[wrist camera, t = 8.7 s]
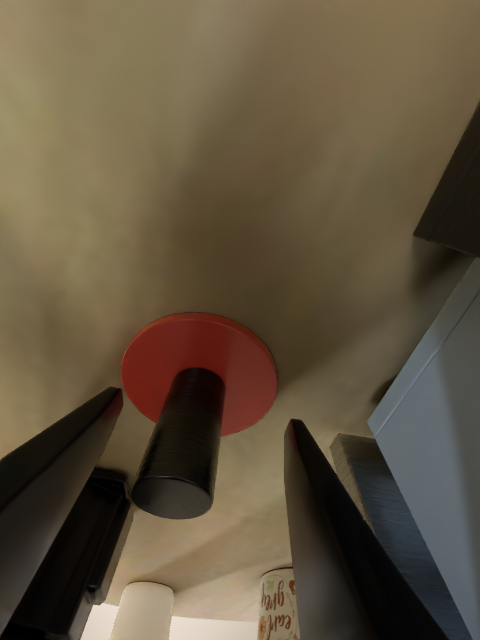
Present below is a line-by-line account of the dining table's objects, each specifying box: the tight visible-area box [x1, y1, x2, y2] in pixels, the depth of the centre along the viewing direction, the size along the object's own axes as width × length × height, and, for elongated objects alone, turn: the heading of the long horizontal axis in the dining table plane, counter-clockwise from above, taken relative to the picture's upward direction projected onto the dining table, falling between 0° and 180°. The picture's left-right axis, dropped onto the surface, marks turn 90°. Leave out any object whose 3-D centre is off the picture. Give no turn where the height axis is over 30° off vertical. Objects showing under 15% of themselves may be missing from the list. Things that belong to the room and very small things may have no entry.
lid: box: [121, 313, 278, 519], centre depth 9 cm, size 7×7×5 cm
